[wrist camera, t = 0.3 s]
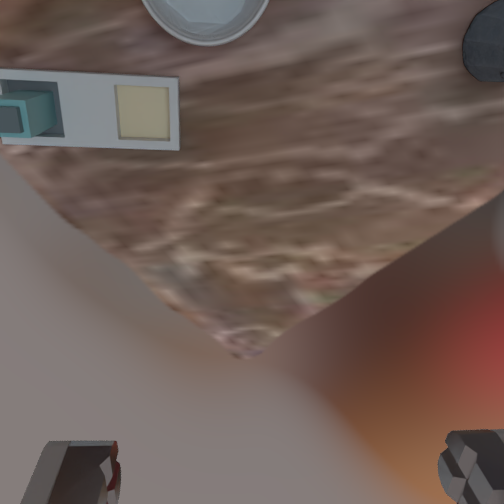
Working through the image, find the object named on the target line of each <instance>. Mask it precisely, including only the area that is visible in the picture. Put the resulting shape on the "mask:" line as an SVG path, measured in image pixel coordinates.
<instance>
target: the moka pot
mask: <svg viewBox="0 0 504 504" xmlns="http://www.w3.org/2000/svg"><path fill="white" fill-rule="evenodd" d="M463 61H464V65H465V67H466V68H467V70H468V71H469V72H470V73H471V74H472V75H473V76H474V77H475V78H476V79H478V80H479V81H491V82H504V0H498V1H496V2H494V3H493V4H491V5H490V6H488V7H487V8H485V9H484V10H482V11H481V12H480V13H478V14H477V16H476V17H475V18H474V20H473V22H472V23H471V25H470V27H469V29H468V31H467V33H466V35H465V38H464V43H463Z"/></svg>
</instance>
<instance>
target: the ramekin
mask: <svg viewBox="0 0 504 504" xmlns="http://www.w3.org/2000/svg"><path fill="white" fill-rule="evenodd" d="M142 2H143V4H144V6H145V7H146V9H147V10H148V12H149V13H150V15H151V16H152V18H153V19H154V20H155V21H156V22H157V23H158V24H159V25H160V26H161V27H162V28H163V29H164V30H165V31H167V32H168V33H169V34H171V35H172V36H174V37H175V38H177V39H179V40H181V41H183V42H186V43H188V44H192V45H197V46H207V47H208V46H218V45H223V44H226V43H229V42H231V41H233V40H235V39H237V38H239V37H240V36H242V35H243V34H245V33H246V32H247V31H248V30H250V29H251V28H252V27H253V26H254V24H255V23H256V22H257V21H258V19H259V18H260V17H261V15H262V14H263V12H264V10H265V9H266V7H267V5H268V2H269V0H142Z"/></svg>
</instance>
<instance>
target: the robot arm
mask: <svg viewBox="0 0 504 504" xmlns="http://www.w3.org/2000/svg"><path fill="white" fill-rule="evenodd" d="M445 442H446V444H447V446H448V448H447V449H446V450H444V451H443V452H442V453H441V454H440V457H439V460H438V474H439V478H440V481H441V484H442V486H443V488H444V490H445V492H446V494H447V495H448V496H449V497H451V498H452V499H453V500H454V501H456V502H457V504H504V429H497V430H496V429H495V430H488V429H481V430H460V431H459V430H458V431H451V432H450V433H448V435H447V438H446V440H445ZM117 455H118V445H117V441H49V442H48V443H47V444H46V446H45V447H44V449H43V451H42V453H41V456H40V458H39V460H38V463H37V465H36V468H35V470H34V472H33V475H32V477H31V480H30V482H29V484H28V487H27V489H26V492H25V494H24V496H23V499H22V501H21V503H20V504H118V499H119V494H120V485H121V467H120V463H119V462H117V461H116V459H117Z"/></svg>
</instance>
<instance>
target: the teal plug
mask: <svg viewBox="0 0 504 504" xmlns="http://www.w3.org/2000/svg"><path fill="white" fill-rule="evenodd" d="M56 124H57V118H56V110H55V103H54V96H53V91H37V90H16V91H13V92H9V93H5V94H2V95H0V137H14V138H33V137H34V136H36V135H38V134H40V133H42V132H43V131H45V130H47V129H49V128H51V127H53V126H54V125H56Z"/></svg>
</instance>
